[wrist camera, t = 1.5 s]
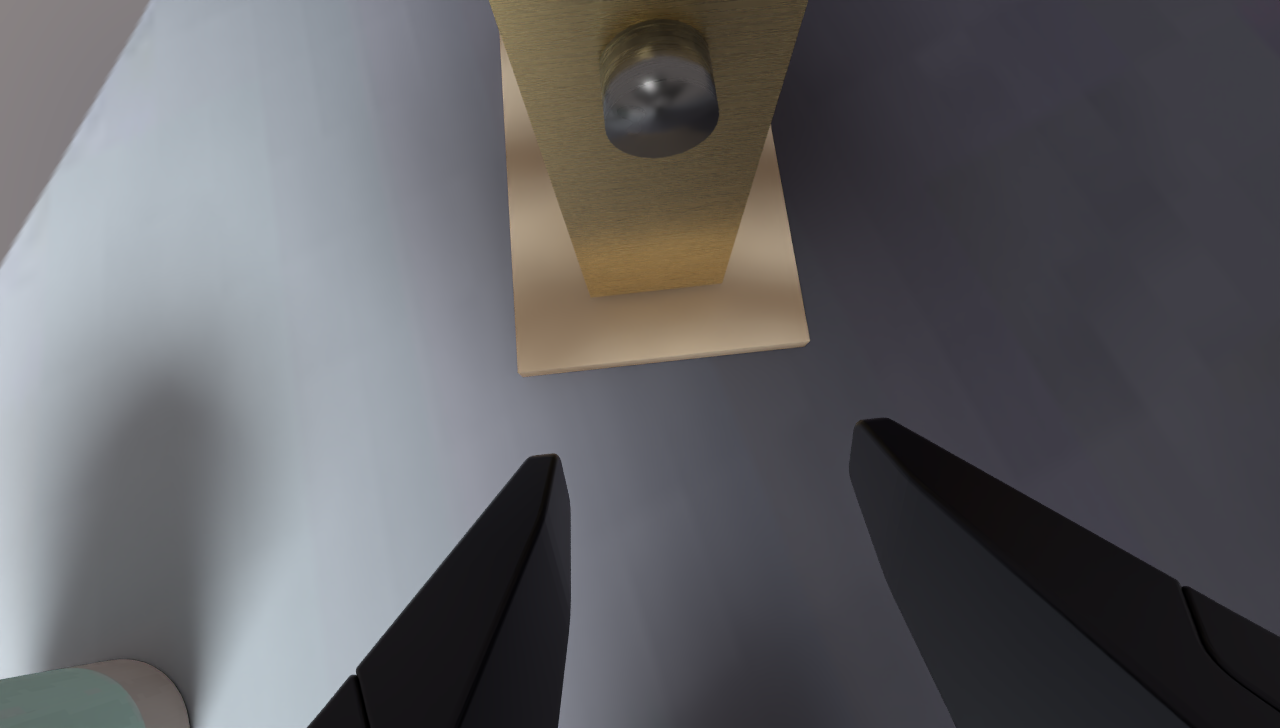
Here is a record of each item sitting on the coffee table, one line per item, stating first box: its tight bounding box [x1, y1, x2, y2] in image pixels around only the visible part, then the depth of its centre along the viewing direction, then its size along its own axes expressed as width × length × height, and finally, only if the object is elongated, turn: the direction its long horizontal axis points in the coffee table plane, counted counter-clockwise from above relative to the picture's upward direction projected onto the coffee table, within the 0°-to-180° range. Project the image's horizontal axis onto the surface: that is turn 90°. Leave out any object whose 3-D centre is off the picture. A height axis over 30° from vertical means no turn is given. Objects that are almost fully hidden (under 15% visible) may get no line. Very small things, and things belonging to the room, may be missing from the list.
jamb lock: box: [499, 31, 810, 377], centre depth 19 cm, size 16×11×9 cm, turn 6°
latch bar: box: [489, 0, 808, 298], centre depth 15 cm, size 6×5×14 cm
